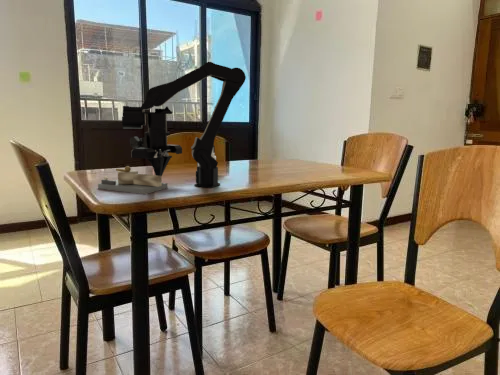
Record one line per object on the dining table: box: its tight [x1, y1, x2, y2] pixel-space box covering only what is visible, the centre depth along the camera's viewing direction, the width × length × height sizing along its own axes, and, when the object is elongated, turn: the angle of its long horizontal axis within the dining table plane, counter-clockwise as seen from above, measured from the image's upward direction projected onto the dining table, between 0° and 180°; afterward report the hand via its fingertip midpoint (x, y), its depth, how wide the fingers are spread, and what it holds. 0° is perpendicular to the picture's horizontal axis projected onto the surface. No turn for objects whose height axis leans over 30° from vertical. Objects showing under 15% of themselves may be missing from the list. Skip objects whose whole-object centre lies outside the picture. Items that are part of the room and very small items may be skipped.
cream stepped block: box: [115, 165, 163, 187], centre depth 116 cm, size 16×6×5 cm, turn 66°
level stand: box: [97, 175, 169, 195], centre depth 119 cm, size 18×11×4 cm, turn 66°
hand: (158, 178), depth 122 cm, fingers closed
